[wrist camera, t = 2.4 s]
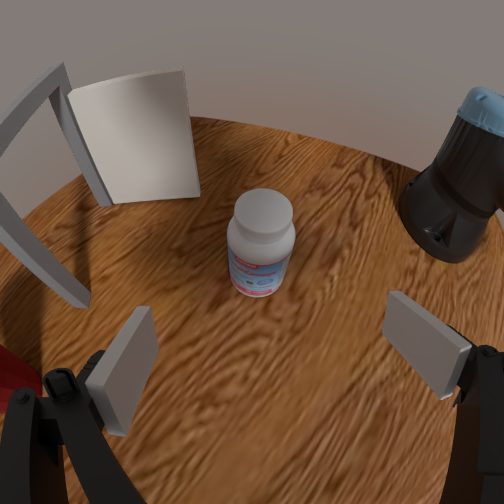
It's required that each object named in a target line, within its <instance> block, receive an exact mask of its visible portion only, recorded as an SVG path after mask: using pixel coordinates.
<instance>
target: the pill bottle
mask: <svg viewBox="0 0 504 504" xmlns="http://www.w3.org/2000/svg"><path fill="white" fill-rule="evenodd" d="M292 216H293V209H292V206H291V203H290V202H289V200H288V199H287V198H286V197H285V196H284V195H282V194H281V193H279V192H277V191H275V190H271V189H265V188H259V189H253V190H250V191H247V192H245V193H244V194H242V195H241V196H240V197H239V198H238V200H237V201H236V203H235V207H234V216H233V217H232V219H231V220H230V222H229V225H228V229H227V244H228V257H229V270H230V277H231V281H232V283H233V284H234V286H235V287H236V288H237V289H238V290H239V291H240V292H242V293H243V294H245V295H248V296H251V297H264V296H267V295H270V294H272V293H273V292H275V291H276V290H277V289H278V288H279V286H280V285H281V283H282V281H283V278H284V275H285V272H286V269H287V266H288V262H289V259H290V256H291V252H292V249H293V246H294V242H295V228H294V225H293V223H292Z"/></svg>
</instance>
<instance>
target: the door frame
mask: <svg viewBox="0 0 504 504" xmlns="http://www.w3.org/2000/svg"><path fill="white" fill-rule="evenodd" d="M71 91H72V88H71V85H70V82H69V79H68V76H67V73H66V70H65V66H64V63H60V64H58V65H56V66H53V67H50V68H49V69H48V70H46V71H45V72H44V73H43V74H42V75H41V76H40V77H38V78H37V79H36V80H35V81H34V82H33V83H32V84H31V85H30V86H29V87H28V88H27V89H26V90H24V92H23V93H21V95H19V96H18V98H16V99H15V100H14V102H13V103H12V104H11V105H10V106H9V107H8V108H7V109H6V110H5V111H4V112H3V113H2V115H1V116H0V157H1V156H2V154H3V153H4V151H5V149H6V148H7V147H8V145H9V144H10V143H11V141H12V140H13V139H14V137H15V136H16V134H17V133H18V132H19V131H20V129H21V128H22V127H23V126H24V124H25V123H26V122H27V121H28V119H29V118H30V117H31V116H32V115H33V113H34V112H35V111H36V110H37V109H38V108H39V106H40V105H41V104H42V103H43V102H44V101H45V100H46V99H47V98H48V97H49V100H50V102H51V105H52V108H53V110H54V112H55V115H56V117H57V119H58V122H59V124H60V127H61V129H62V131H63V133H64V135H65V138H66V140H67V142H68V145H69V147H70V149H71V151H72V153H73V155H74V157H75V159H76V161H77V163H78V166H79V167H80V169H81V171H82V174H83V175H84V177H85V179H86V181H87V183H88V185H89V187H90V189H91V191H92V193H93V194H94V196H95V198H96V200H97V202H98V204H99V205H100V207H104V206H112V204H113V201H112V199H111V197H110V195H109V193H108V190H107V188H106V186H105V184H104V182H103V180H102V178H101V176H100V174H99V172H98V169H97V167H96V165H95V163H94V161H93V158H92V156H91V154H90V151H89V149H88V147H87V144H86V142H85V140H84V137H83V135H82V132H81V130H80V128H79V125H78V122H77V120H76V117H75V115H74V112H73V109H72V107H71V104H70V101H69V98H68V96H67V95H68V94H69V93H70V92H71ZM0 242H1V243H2V244H3V245H4V246H5V247H6V248H7V249H8V250H9V251H10V252H11V253H12V254H13V255H14V256H15V257H16V258H17V259H19V260H20V261H21V262H22V263H23V264H24V265H25V266H26V267H27V268H28V269H29V270H30V271H32V272H33V273H34V274H35V275H36V276H37V277H38V278H39V279H41V280H42V281H43V282H44V283H45V284H46V285H48V286H49V287H50V288H51V289H52V290H54V291H55V292H56V293H57V294H59V295H60V296H61V297H62V298H64V299H65V300H66V301H67V302H69V303H70V304H71V305H73V306H74V307H75V308H89V303H90V297H91V292H90V291H89V290H87V289H86V288H85V287H84V286H83V285H82V284H81V283H80V282H79V281H78V280H77V279H76V278H75V277H74V276H73V275H72V274H71V273H70V272H69V271H68V270H67V269H66V268H65V267H64V266H63V265H62V264H61V263H60V262H59V261H58V260H57V259H56V258H55V257H54V256H53V255H52V254H51V252H50V251H49V250H48V249H47V248H46V247H45V246H44V245H43V244H42V243H41V241H40V240H39V239H38V238H37V237H36V236H35V235H34V233H33V232H32V231H31V230H30V229H29V228H28V226H27V225H26V224H25V223H24V222H23V220H22V219H21V218H20V217H19V216H18V214H17V213H16V212H15V210H14V209H13V208H12V207H11V205H10V204H9V203H8V201H7V200H6V199H5V197H4V196H3V195H2V193H1V192H0Z"/></svg>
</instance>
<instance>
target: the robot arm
mask: <svg viewBox="0 0 504 504" xmlns="http://www.w3.org/2000/svg"><path fill="white" fill-rule="evenodd" d="M457 113H458V115H457V117H456V119H455V121H454V123H453V125H452V127H451V129H450V131H449V133H448V135H447V137H446V139H445V141H444V143H443V145H442V146H441V148H440V150H439V152H438V154H437V155H436V158H435V159H434V161H433V163H432V164H431V165H430V166H428V167H427V168H426V169H425V170H424V171H422V172H421V173H420V174H418V175H417V176H416V177H415V178H413V179H412V180H411V181H410V182H409V183H408V184H407V185H406V187H405V189H404V190H403V192H402V194H401V196H400V199H399V210H400V215H401V218H402V220H403V223H404V225H405V227H406V229H407V230H408V232H409V233H410V235H411V236H412V237H413V239H414V240H415V241H416V242H417V243H418V244H419V245H420V246H421V247H422V248H423V249H424V250H425V251H426V252H428V253H429V254H430V255H432V256H433V257H435V258H437V259H439V260H441V261H444V262H447V263H460V262H463V261H465V260H466V259H467V258H468V257H469V256H470V255H471V254H472V253H473V252H474V251H475V250H476V248H477V247H478V244H479V242H480V240H481V238H482V235H483V233H484V231H485V228H486V226H487V224H488V221H489V219H490V218H491V216H492V215H493V214H494V213H495V212H496V211H497V210H498V209H499V208H500V209H501V210H502V211H503V212H504V96H502V95H500V94H498V93H496V92H494V91H492V90H490V89H487V88H483V87H475V88H473V89H471V90H470V91H469V93H468V94H467V96H466V98H465V100H464V102H463V104H462V106H461V107H460V108H458V111H457ZM382 334H383V335H384V337H385V338H386V339H387V340H388V341H389V342H390V343H391V344H392V345H393V346H394V347H395V349H396V350H397V351H398V352H399V353H400V354H401V355H402V356H403V357H404V359H405V360H406V361H407V362H408V363H409V364H410V365H411V366H412V368H413V369H414V370H415V371H416V372H417V373H418V374H419V375H420V377H421V378H422V379H423V380H424V381H425V382H426V383H427V385H428V386H429V387H430V388H431V389H432V390H433V392H434V393H435V394H436V395H437V396H438V397H439V399H440V400H442V399H444V398H446V397H449V396H451V395H452V394H453V392H454V390H455V388H456V385H458V386H459V387H460V388H461V389H460V391H459V393H458V396H457V398H456V400H455V402H454V404H453V406H452V407H455V405H456V404H457V415H456V424H455V432H454V439H453V446H452V452H451V457H450V463H449V467H448V472H447V476H446V481H445V485H444V489H443V492H442V496H441V499H440V503H439V504H504V352H498V350H496V349H495V348H494V347H492V346H488V345H481V346H479V347H477V346H476V345H475V344H473V343H472V342H471V341H470V340H468V339H467V338H466V337H464V336H462V334H460V333H459V332H457V330H455V329H454V328H453V327H451V326H449V325H447V324H444V323H443V322H442V321H440V320H439V319H438V318H436V317H435V316H434V315H432V314H431V313H430V312H428V311H427V310H426V309H424V308H423V307H421V306H420V305H419V304H417V303H416V302H415V301H413V300H412V299H410V298H409V297H408V296H406V295H405V294H403V293H402V292H401V291H391V292H388V299H387V306H386V312H385V318H384V324H383V329H382ZM158 352H159V347H158V342H157V337H156V332H155V327H154V321H153V316H152V310H151V306H137V307H136V309H135V310H134V312H133V313H132V314H131V316H130V317H129V318H128V320H127V321H126V323H125V324H124V326H123V327H122V328H121V330H120V331H119V333H118V334H117V336H116V337H115V338H114V340H113V341H112V343H111V344H110V346H109V347H108V349H107V350H99V351H98V352H96V353H95V354H93V355H92V356H91V357H90V359H89V360H88V361H87V364H85V366H84V367H83V369H82V370H81V371H80V373H79V374H78V376H77V377H76V378H75V376H74V374H73V372H72V371H71V370H69V369H67V368H57V369H54V370H51V371H49V372H48V373H47V374H45V376H44V377H43V381H42V383H43V385H44V387H45V389H46V391H47V393H48V395H49V397H37V395H36V393H35V392H34V390H33V389H31V388H29V387H22V388H18V389H16V390H15V391H14V392H13V393H12V394H11V396H10V398H9V401H8V406H7V410H6V415H5V419H4V425H3V430H2V436H1V442H0V504H69V502H68V496H67V489H66V482H65V473H64V462H63V447H62V445H65V447H66V450H67V452H68V455H69V457H70V460H71V462H72V465H73V467H74V470H75V472H76V474H77V477H78V479H79V481H80V483H81V485H82V487H83V490H84V492H85V494H86V496H87V498H88V500H89V502H90V503H91V504H147V503H146V502H145V500H144V499H143V498H142V496H141V495H140V494H139V492H138V491H137V489H136V488H135V487H134V485H133V484H132V482H131V481H130V479H129V478H128V476H127V475H126V473H125V472H124V470H123V468H122V467H121V465H120V464H119V462H118V460H117V459H116V457H115V455H114V454H113V452H112V450H111V448H110V447H109V445H108V443H107V441H106V439H105V438H104V436H103V434H102V429H103V427H104V425H105V427H106V429H107V431H108V432H109V434H112V435H118V436H124V437H127V434H128V431H129V428H130V425H131V422H132V420H133V417H134V414H135V411H136V409H137V406H138V403H139V401H140V398H141V395H142V393H143V390H144V387H145V385H146V382H147V379H148V377H149V374H150V372H151V369H152V367H153V364H154V362H155V359H156V357H157V354H158Z"/></svg>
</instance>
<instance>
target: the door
mask: <svg viewBox="0 0 504 504" xmlns="http://www.w3.org/2000/svg"><path fill="white" fill-rule="evenodd" d="M67 96H68V98H69V101H70V104H71V107H72V109H73V112H74V115H75V117H76V120H77V122H78V125H79V128H80V130H81V132H82V135H83V137H84V140H85V142H86V144H87V147H88V149H89V151H90V154H91V156H92V158H93V161H94V163H95V165H96V167H97V169H98V172H99V174H100V176H101V178H102V180H103V182H104V184H105V186H106V188H107V190H108V193H109V195H110V197H111V199H112V201H113V203H114V204H117V203H127V202H138V201H149V200H162V199H176V198H191V197H200V193H201V189H200V183H199V177H198V171H197V164H196V157H195V151H194V144H193V137H192V130H191V122H190V115H189V107H188V99H187V91H186V83H185V74H184V67H176V68H168V69H161V70H155V71H149V72H143V73H137V74H132V75H128V76H123V77H118V78H114V79H110V80H106V81H102V82H98V83H94V84H91V85H87V86H84V87H81V88H77V89H74V90H72V91H71V92H70V93H69V94H68V95H67Z"/></svg>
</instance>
